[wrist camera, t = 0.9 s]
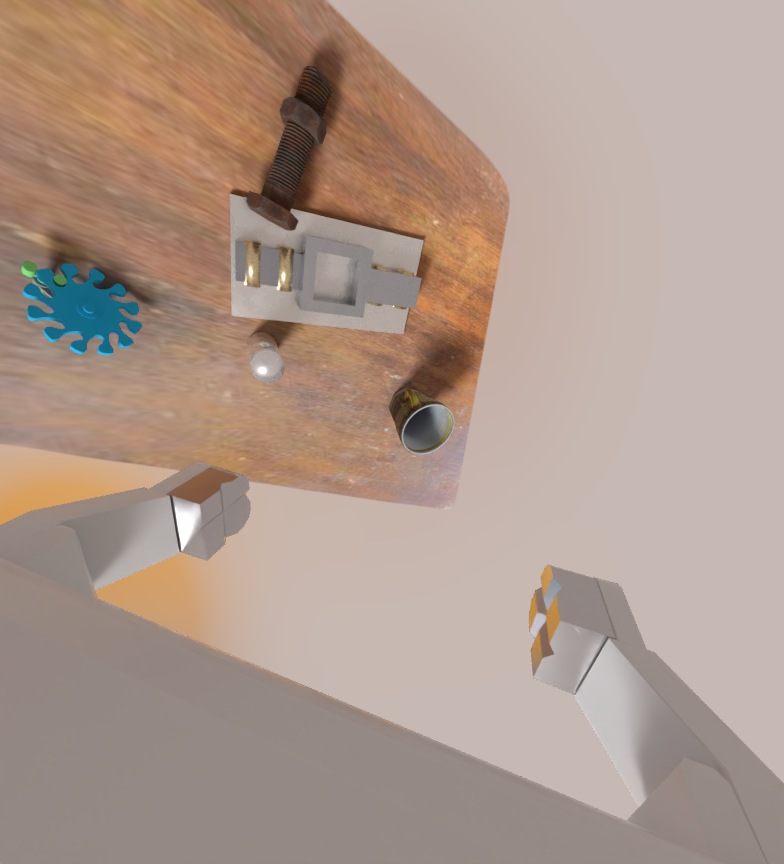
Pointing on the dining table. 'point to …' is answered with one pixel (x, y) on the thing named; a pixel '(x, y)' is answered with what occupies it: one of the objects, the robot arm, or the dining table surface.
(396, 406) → the ceramic cup
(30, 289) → the gear
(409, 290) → the gray metal plate
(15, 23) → the dining table surface
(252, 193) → the bolt
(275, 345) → the silver upright cylinder
